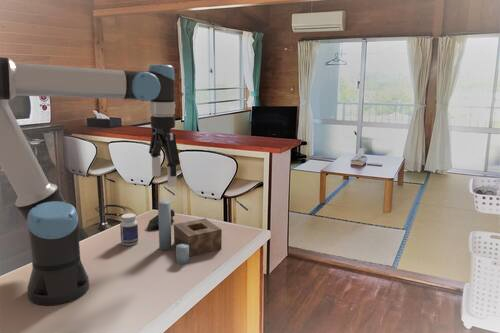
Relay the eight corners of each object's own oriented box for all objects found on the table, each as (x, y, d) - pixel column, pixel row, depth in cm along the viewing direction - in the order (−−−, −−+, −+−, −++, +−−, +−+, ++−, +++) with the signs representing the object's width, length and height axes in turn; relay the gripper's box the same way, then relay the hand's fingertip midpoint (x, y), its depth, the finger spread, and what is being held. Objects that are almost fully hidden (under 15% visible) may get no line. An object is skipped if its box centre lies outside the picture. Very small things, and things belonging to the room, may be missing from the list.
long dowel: (161, 251, 141) (160, 205, 137) (157, 246, 144) (156, 201, 140) (173, 248, 143) (172, 203, 139) (168, 244, 146) (167, 200, 142)
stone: (141, 229, 160) (141, 215, 159) (166, 218, 171) (166, 206, 170) (155, 233, 157) (154, 219, 155) (179, 222, 167) (179, 209, 166)
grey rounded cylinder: (179, 265, 132) (179, 250, 130) (174, 260, 135) (174, 245, 134) (191, 262, 134) (191, 247, 132) (185, 257, 137) (185, 242, 136)
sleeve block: (188, 256, 137) (188, 236, 136) (174, 243, 147) (173, 224, 146) (221, 248, 144) (221, 229, 142) (205, 236, 154) (205, 218, 152)
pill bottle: (141, 242, 148) (140, 214, 145) (129, 247, 143) (127, 219, 141) (130, 238, 151) (129, 211, 148) (117, 243, 146) (116, 216, 144)
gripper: (190, 119, 125) (191, 188, 130) (159, 110, 145) (160, 171, 150) (166, 120, 121) (167, 192, 126) (138, 111, 142) (140, 173, 146)
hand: (164, 180), depth 138 cm, fingers open, 13 cm apart
